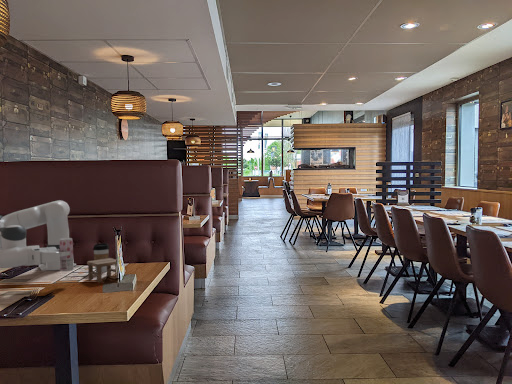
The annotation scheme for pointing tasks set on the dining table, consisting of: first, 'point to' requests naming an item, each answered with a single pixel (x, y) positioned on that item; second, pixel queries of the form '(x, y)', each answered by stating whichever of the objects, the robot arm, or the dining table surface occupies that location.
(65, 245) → the beverage can
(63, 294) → the dining table surface
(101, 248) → the coffee cup
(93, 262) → the stool
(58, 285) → the dining table surface
